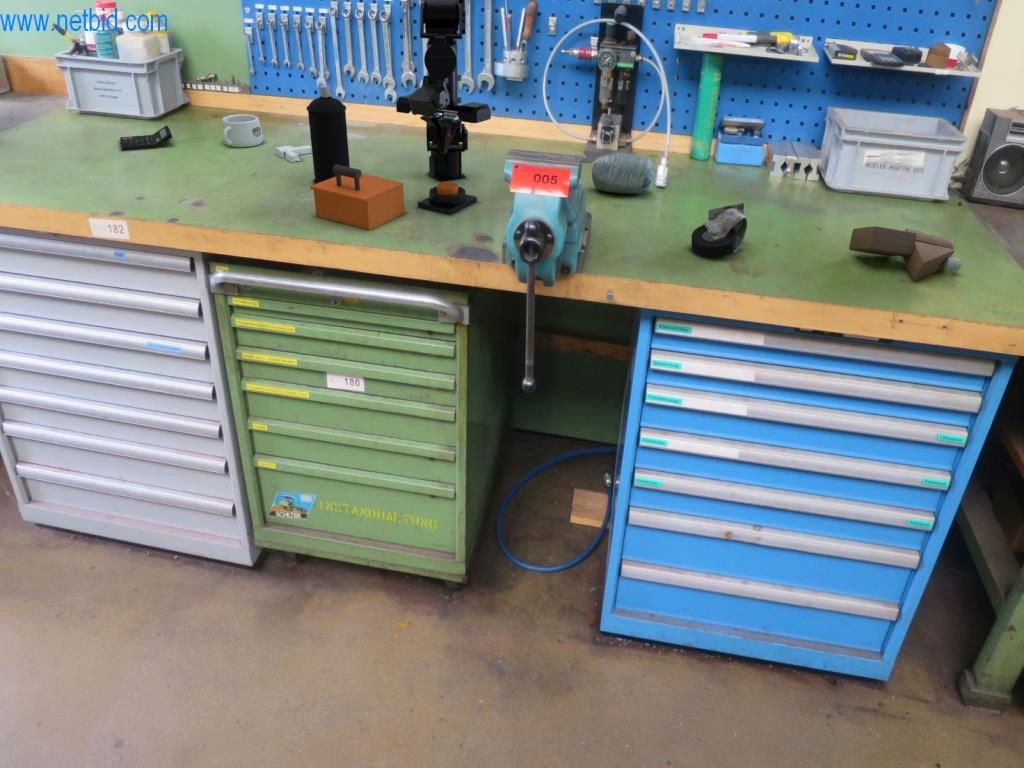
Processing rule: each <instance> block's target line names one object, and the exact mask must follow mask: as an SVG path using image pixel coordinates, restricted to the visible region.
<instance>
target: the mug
mask: <svg viewBox="0 0 1024 768" xmlns="http://www.w3.org/2000/svg"><path fill="white" fill-rule="evenodd" d="M221 125H222V127H221V129H222V141H223V144H225V145H226V146H227V147H232V148H249V147H255V146H259V145H261V144H262V143H263V142H264V134H263V130H262V127H261V122H260V118H259V116H257V115H254V114H250V113H249V114H248V113H240V114H239V113H238V114H230V115H226V116H224V117H223V118H221Z"/></svg>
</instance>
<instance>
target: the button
mask: <svg viewBox="0 0 1024 768" xmlns="http://www.w3.org/2000/svg"><path fill="white" fill-rule="evenodd" d="M436 186H437V193H438V194H442V195H454V194H457V193H458V187H459V184H457V183H456V182H452V181H441V182H439V183H437V184H436Z"/></svg>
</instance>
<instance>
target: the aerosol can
mask: <svg viewBox="0 0 1024 768" xmlns="http://www.w3.org/2000/svg"><path fill="white" fill-rule="evenodd" d="M319 93H320V95H319V97H316V98H314V99H313V100H311V102H310V103H309V104H308V105H307V106H306V108H305V109H306V111H307V115H308V125H309V126H308V127H309V134H310V135H309V137H310V143H311V145H310V146H311V152H312V153H311V155H312V163H313V164H312V165H313V174H314V179H313V183H314V184H317V183H320V182H322V181H325V180H328V179H330V178H333V177H336V174H334V172H333V167H334V165H336V164H337V165H341V166H346V167H350V168H351V165H350V153H349V151H350V150H349V140H348V125H347V115H346V114H347V113H346V110H347V106H346V105H345V104H344V103H343V101H341V100H339V99H337V98H336V97H332V96H331V91H330V86H329V85H321V86H319Z"/></svg>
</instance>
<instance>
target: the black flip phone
mask: <svg viewBox="0 0 1024 768" xmlns="http://www.w3.org/2000/svg"><path fill="white" fill-rule="evenodd" d="M172 138H173V135H172V132H171V129H170V127H169V125H167V124H166V125H164V126H163V127H162V128H160V129H158V130H157V131H156V132H154V133H153V134H145V135H134V136H133V135H132V136H121V137H120V136H119V140H120V146H121V150H122V151H123V152H124V151H125V152H126V151H137V150H148V149H149V150H150V149H157V148H159V147H160V146H162V145H163V144H165V143H166V142H168V141H169V140H171V139H172Z"/></svg>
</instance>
